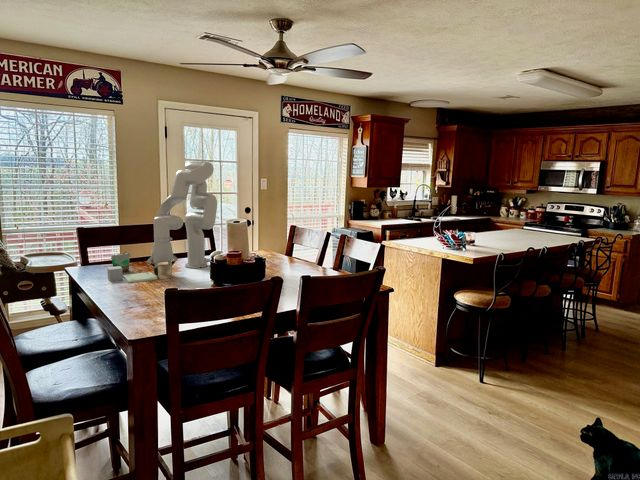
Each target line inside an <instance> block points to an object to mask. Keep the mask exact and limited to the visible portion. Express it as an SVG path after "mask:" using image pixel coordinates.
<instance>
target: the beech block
mask: <svg viewBox="0 0 640 480" xmlns="http://www.w3.org/2000/svg"><path fill="white" fill-rule="evenodd" d="M157 268H158V276H156V277H157V278H158V279H159V280H165V279H172V278H173V266H170V265H169V264H168V262H160V263H158V265H157Z"/></svg>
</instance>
